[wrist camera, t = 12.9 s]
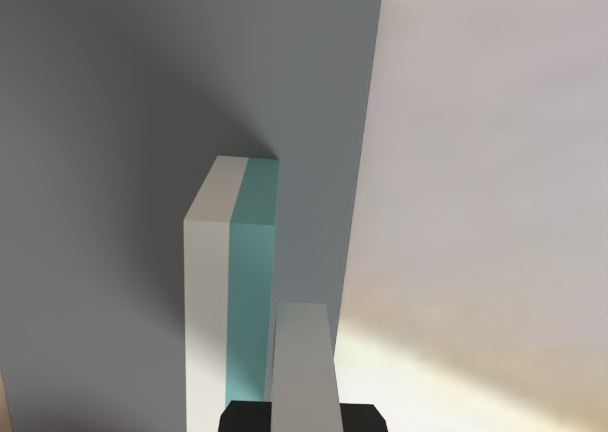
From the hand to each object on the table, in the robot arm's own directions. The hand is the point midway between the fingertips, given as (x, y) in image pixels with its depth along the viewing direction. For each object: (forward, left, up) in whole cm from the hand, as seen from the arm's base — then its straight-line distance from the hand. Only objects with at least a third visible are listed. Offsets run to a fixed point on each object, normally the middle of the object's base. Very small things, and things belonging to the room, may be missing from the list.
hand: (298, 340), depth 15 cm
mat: (0, -5, -5) cm, 7 cm away
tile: (0, -2, -4) cm, 5 cm away
